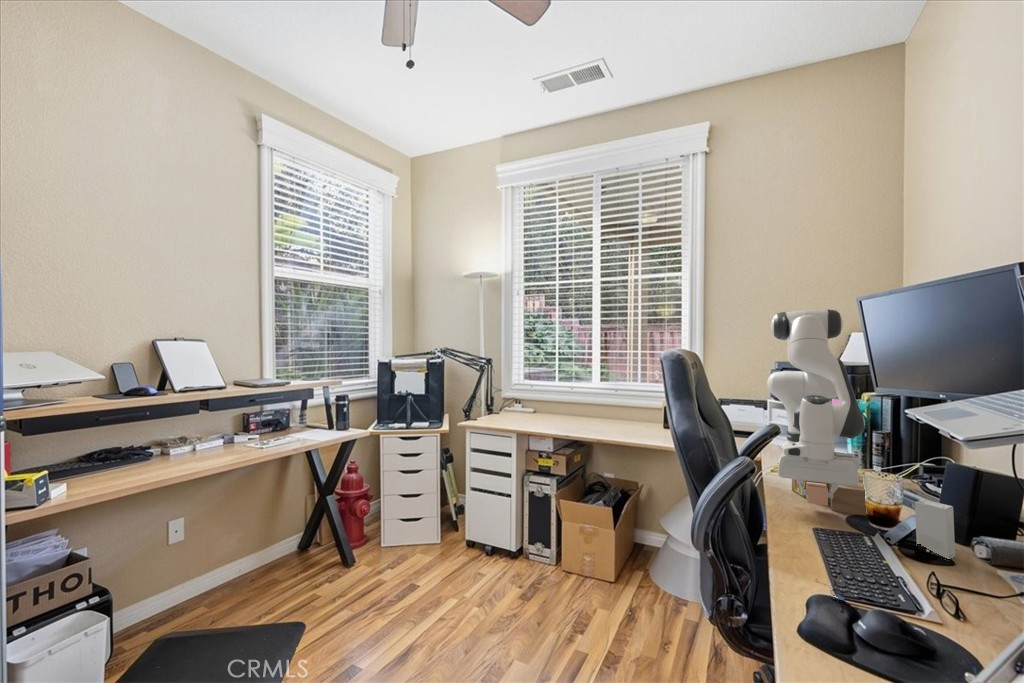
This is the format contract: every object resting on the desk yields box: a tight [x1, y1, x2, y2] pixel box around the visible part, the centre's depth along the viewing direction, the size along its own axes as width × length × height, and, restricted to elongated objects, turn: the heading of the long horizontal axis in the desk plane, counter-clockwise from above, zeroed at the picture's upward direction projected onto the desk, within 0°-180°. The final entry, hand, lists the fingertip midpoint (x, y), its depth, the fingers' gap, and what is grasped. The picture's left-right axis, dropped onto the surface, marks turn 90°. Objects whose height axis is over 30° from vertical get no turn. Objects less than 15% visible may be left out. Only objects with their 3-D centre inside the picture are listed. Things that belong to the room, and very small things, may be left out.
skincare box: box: [914, 498, 956, 560], centre depth 108 cm, size 6×4×12 cm
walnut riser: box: [828, 483, 867, 517], centre depth 137 cm, size 8×10×7 cm
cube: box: [806, 482, 829, 507], centre depth 136 cm, size 5×5×5 cm
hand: (816, 496), depth 136 cm, fingers closed on cube, 5 cm apart
